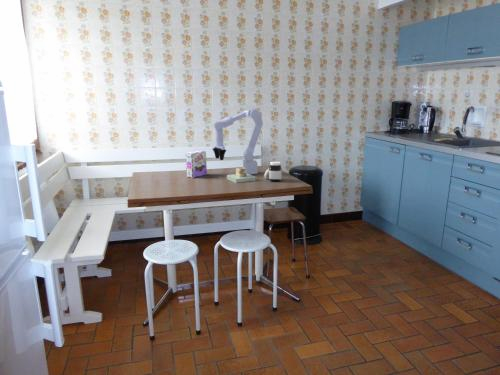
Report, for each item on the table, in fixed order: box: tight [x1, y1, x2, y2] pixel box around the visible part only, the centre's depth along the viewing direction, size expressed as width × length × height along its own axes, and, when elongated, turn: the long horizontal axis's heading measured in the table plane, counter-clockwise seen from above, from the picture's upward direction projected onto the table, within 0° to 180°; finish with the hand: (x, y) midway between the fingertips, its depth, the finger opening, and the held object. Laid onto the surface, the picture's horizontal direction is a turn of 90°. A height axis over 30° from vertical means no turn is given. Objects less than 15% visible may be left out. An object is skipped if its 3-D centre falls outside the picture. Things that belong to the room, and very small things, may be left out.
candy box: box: [185, 150, 208, 179], centre depth 258 cm, size 14×6×16 cm, turn 143°
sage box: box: [226, 173, 257, 184], centre depth 248 cm, size 14×14×3 cm
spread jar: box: [263, 161, 283, 183], centre depth 245 cm, size 12×11×12 cm
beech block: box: [235, 166, 246, 177], centre depth 247 cm, size 5×5×5 cm
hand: (219, 159), depth 263 cm, fingers open, 7 cm apart
